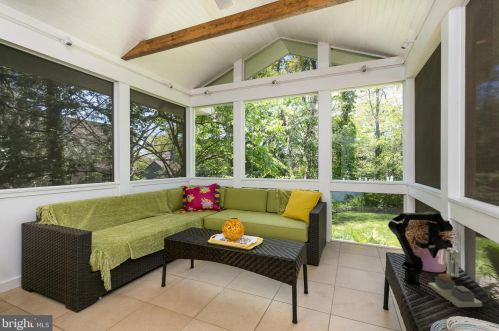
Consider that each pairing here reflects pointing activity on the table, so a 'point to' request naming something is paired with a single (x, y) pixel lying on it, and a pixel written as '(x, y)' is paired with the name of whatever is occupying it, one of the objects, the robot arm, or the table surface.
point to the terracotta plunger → (444, 277)
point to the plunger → (462, 289)
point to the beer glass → (452, 262)
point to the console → (454, 294)
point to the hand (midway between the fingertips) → (433, 258)
